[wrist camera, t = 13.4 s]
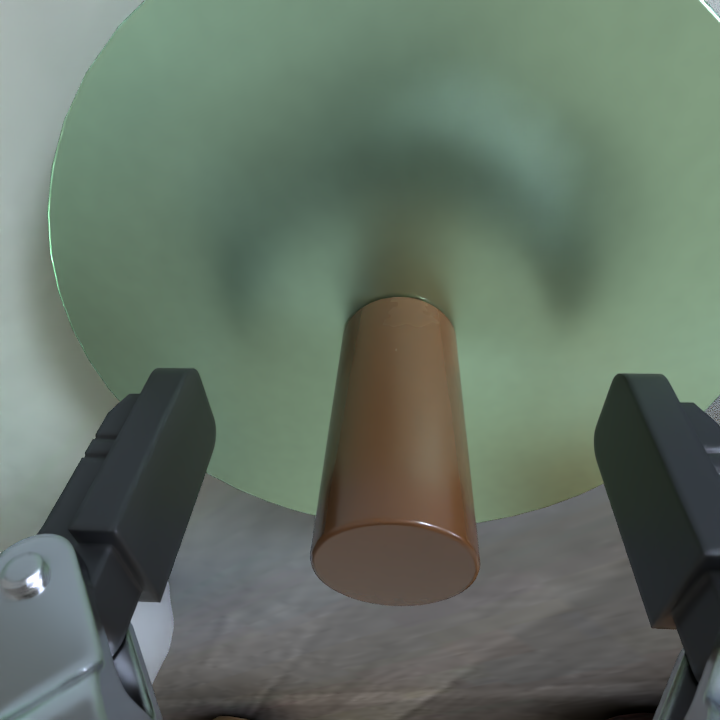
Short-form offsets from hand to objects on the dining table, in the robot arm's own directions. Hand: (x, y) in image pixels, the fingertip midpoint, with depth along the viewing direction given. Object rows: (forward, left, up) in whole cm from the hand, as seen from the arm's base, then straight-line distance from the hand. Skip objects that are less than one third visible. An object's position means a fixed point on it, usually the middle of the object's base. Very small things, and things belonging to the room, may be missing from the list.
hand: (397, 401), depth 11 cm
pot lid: (0, 0, -3) cm, 3 cm away
